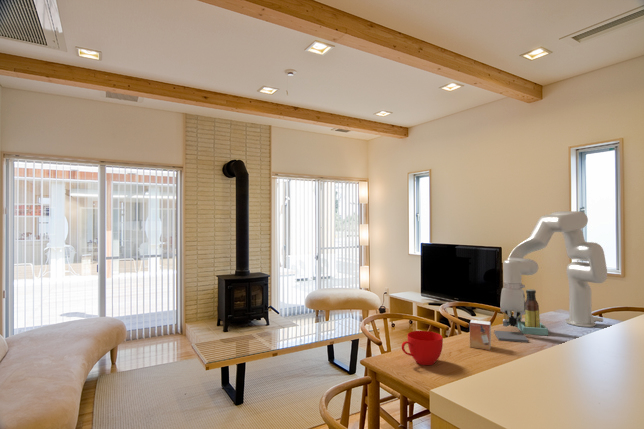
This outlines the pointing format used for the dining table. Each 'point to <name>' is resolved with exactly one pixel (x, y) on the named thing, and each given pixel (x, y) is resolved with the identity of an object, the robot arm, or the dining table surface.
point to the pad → (511, 336)
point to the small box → (480, 334)
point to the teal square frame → (531, 329)
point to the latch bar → (506, 322)
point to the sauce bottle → (532, 310)
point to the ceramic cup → (424, 346)
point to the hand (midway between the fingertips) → (513, 325)
